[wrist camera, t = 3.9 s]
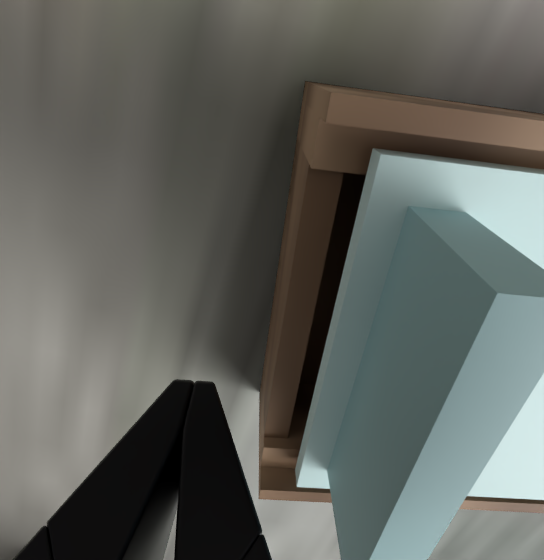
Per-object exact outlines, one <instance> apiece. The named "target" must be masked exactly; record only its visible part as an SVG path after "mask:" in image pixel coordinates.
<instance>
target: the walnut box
mask: <svg viewBox="0 0 544 560" xmlns="http://www.w3.org/2000/svg"><path fill="white" fill-rule="evenodd" d="M373 148H376V149H384V150H392V151H400V152H408V153H416V154H424V155H432V156H440V157H448V158H456V159H464V160H472V161H480V162H488V163H496V164H504V165H512V166H520V167H528V168H536V169H544V114H540V113H533V112H526V111H519V110H511V109H504V108H497V107H489V106H482V105H475V104H468V103H460V102H453V101H446V100H439V99H431V98H424V97H417V96H410V95H402V94H395V93H388V92H381V91H373V90H366V89H359V88H351V87H344V86H337V85H330V84H322V83H315V82H308V81H305V86H304V93H303V100H302V107H301V114H300V120H299V127H298V134H297V141H296V148H295V155H294V161H293V168H292V175H291V182H290V189H289V196H288V202H287V209H286V216H285V223H284V230H283V236H282V243H281V250H280V257H279V264H278V271H277V277H276V284H275V291H274V298H273V305H272V312H271V318H270V325H269V332H268V339H267V346H266V353H265V359H264V366H263V373H262V380H261V387H260V404H259V499H269V500H289V501H309V502H329V503H332V499H331V492H330V489H324V488H305V487H297V486H296V474H295V468H296V464H297V460H298V456H299V451H300V447H301V443H302V439H303V435H304V431H305V427H306V422H307V418H308V414H309V410H310V406H311V402H312V398H313V393H314V389H315V385H316V381H317V377H318V373H319V369H320V364H321V360H322V356H323V352H324V348H325V344H326V340H327V335H328V331H329V327H330V323H331V319H332V315H333V311H334V306H335V302H336V298H337V294H338V290H339V286H340V282H341V277H342V273H343V269H344V265H345V261H346V257H347V253H348V248H349V244H350V240H351V236H352V232H353V228H354V224H355V219H356V215H357V211H358V207H359V203H360V199H361V195H362V191H363V186H364V182H365V178H366V174H367V170H368V166H369V162H370V157H371V153H372V149H373ZM459 509H470V510H490V511H511V512H531V513H544V500H533V499H514V498H495V497H476V496H467V497H466V498H465V500H464V501H463V503H462V505H461V506H460V508H459Z"/></svg>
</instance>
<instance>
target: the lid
mask: <svg viewBox="0 0 544 560" xmlns="http://www.w3.org/2000/svg"><path fill="white" fill-rule="evenodd" d="M295 474H296V486H297V487H305V488H324V489H330V492H331V499H332V505H333V511H334V517H335V524H336V530H337V536H338V543H339V549H340V555H341V560H427V559H428V558H429V556H430V554H431V553H432V551H433V550H434V548H435V546H436V545H437V543H438V542H439V540H440V538H441V537H442V535H443V534H444V532H445V530H446V529H447V527H448V525H449V524H450V522H451V521H452V519H453V517H454V516H455V514H456V513H457V511H458V509H459V508H460V506H461V505H462V503H463V501H464V500H465V498H466V497H467V496H476V497H495V498H514V499H533V500H544V169H536V168H528V167H520V166H512V165H504V164H496V163H488V162H480V161H472V160H464V159H456V158H448V157H440V156H432V155H424V154H416V153H408V152H400V151H392V150H384V149H376V148H373V149H372V153H371V157H370V162H369V166H368V170H367V174H366V178H365V182H364V186H363V191H362V195H361V199H360V203H359V207H358V211H357V215H356V219H355V224H354V228H353V232H352V236H351V240H350V244H349V248H348V253H347V257H346V261H345V265H344V269H343V273H342V277H341V282H340V286H339V290H338V294H337V298H336V302H335V306H334V311H333V315H332V319H331V323H330V327H329V331H328V335H327V340H326V344H325V348H324V352H323V356H322V360H321V364H320V369H319V373H318V377H317V381H316V385H315V389H314V393H313V398H312V402H311V406H310V410H309V414H308V418H307V422H306V427H305V431H304V435H303V439H302V443H301V447H300V451H299V456H298V460H297V464H296V468H295Z"/></svg>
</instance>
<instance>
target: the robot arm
mask: <svg viewBox="0 0 544 560" xmlns="http://www.w3.org/2000/svg"><path fill="white" fill-rule="evenodd" d="M177 506H178V507H177ZM176 510H177V524H176V540H175V557H174V560H272V558H271V555H270V552H269V549H268V546H267V543H266V540H265V537H264V535H262V528H261V525H260V522H259V519H258V516H257V513H256V510H255V507H254V504H253V500H252V497H251V494H250V491H249V488H248V485H247V482H246V479H245V476H244V473H243V469H242V466H241V463H240V460H239V457H238V454H237V451H236V448H235V445H234V442H233V439H232V435H231V432H230V429H229V426H228V423H227V420H226V417H225V414H224V411H223V408H222V404H221V401H220V398H219V395H218V392H217V389H216V386H215V384H214V383H213V382H208V381H196V382H195V383H194V382H193V381H191V380H179V379H176V380H174V381H173V382H172V383H171V384H170V385H169V386H168V387H167V388H166V389H165V390H164V391H163V393H162V394H161V395H160V396H159V397H158V398H157V399H156V400H155V402H154V403H153V404H152V405H151V406H150V407H149V408H148V409H147V411H146V412H145V413H144V414H143V415H142V416H141V417H140V418H139V419H138V421H137V422H136V423H135V424H134V425H133V426H132V427H131V428H130V430H129V431H128V432H127V433H126V434H125V435H124V436H123V437H122V439H121V440H120V441H119V442H118V443H117V444H116V445H115V446H114V447H113V449H112V450H111V451H110V452H109V453H108V454H107V455H106V456H105V458H104V459H103V460H102V461H101V462H100V463H99V464H98V465H97V467H96V468H95V469H94V470H93V471H92V472H91V473H90V474H89V475H88V477H87V478H86V479H85V480H84V481H83V482H82V483H81V484H80V486H79V487H78V488H77V489H76V490H75V491H74V492H73V493H72V495H71V496H70V497H69V498H68V499H67V500H66V501H65V502H64V503H63V505H62V506H61V507H60V508H59V509H58V510H57V511H56V512H55V514H54V515H53V516H52V517H51V518H50V519H49V520H48V522H47V526H43V527H42V528H41V529H40V530H39V531H38V532H37V533H36V535H35V536H34V537H33V538H32V539H31V540H30V541H29V542H28V544H27V545H26V546H25V547H24V548H23V549H22V550H21V551H20V552H19V553H18V555H17V556H16V557H15V558H14V559H13V560H163V558H164V554H165V550H166V547H167V543H168V539H169V536H170V532H171V528H172V525H173V521H174V517H175V514H176Z"/></svg>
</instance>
